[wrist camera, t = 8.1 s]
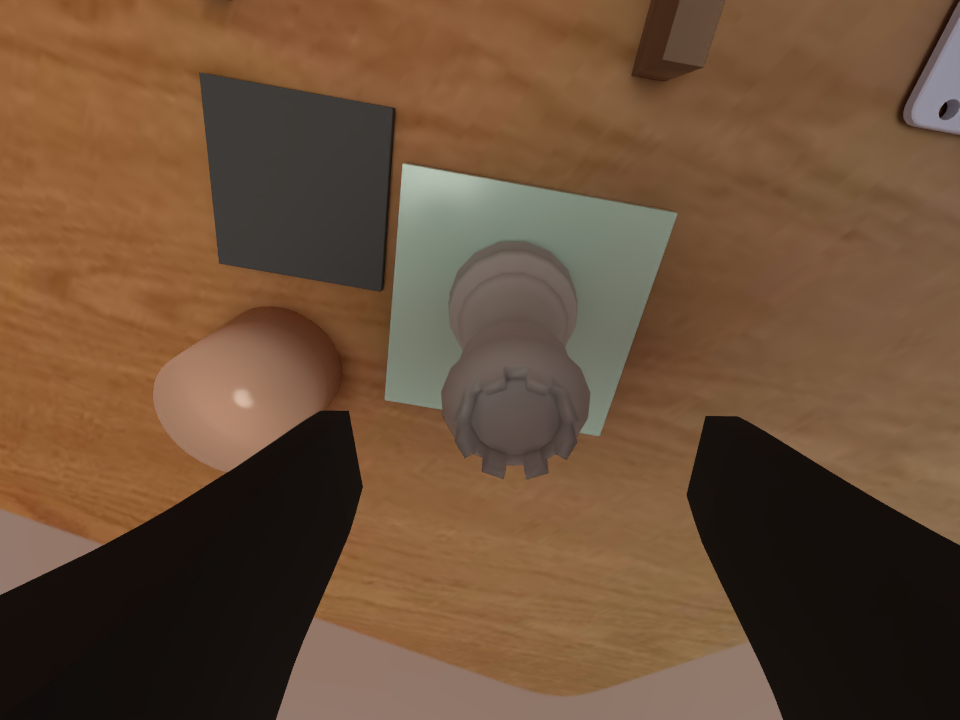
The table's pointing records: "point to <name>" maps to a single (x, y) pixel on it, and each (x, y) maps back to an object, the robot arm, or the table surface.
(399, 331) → the coaster
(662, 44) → the cubby
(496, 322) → the rook chess piece
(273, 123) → the dark gray tile
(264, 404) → the peach short cylinder
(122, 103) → the table surface
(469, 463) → the table surface
